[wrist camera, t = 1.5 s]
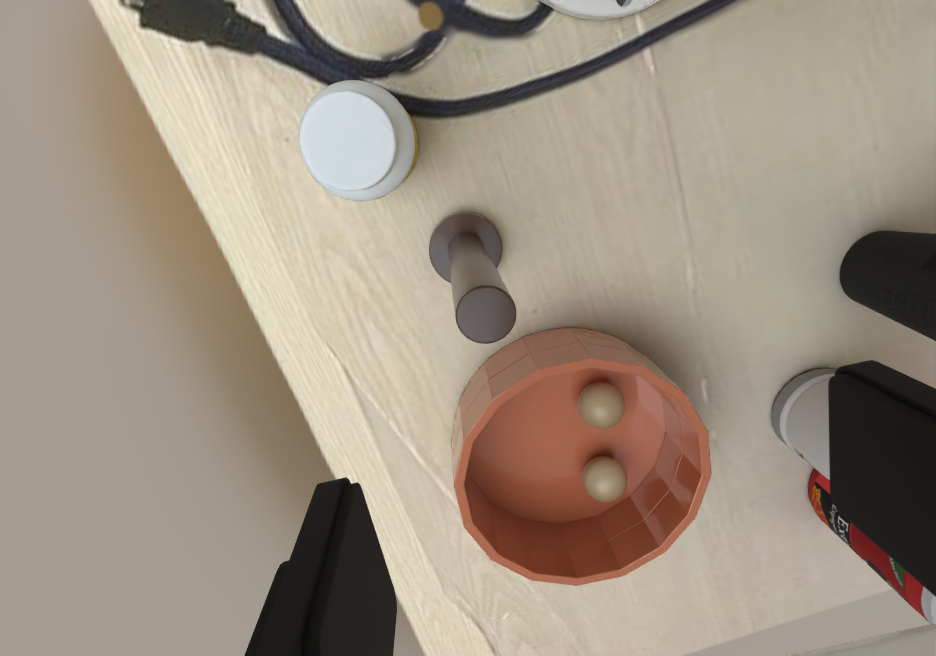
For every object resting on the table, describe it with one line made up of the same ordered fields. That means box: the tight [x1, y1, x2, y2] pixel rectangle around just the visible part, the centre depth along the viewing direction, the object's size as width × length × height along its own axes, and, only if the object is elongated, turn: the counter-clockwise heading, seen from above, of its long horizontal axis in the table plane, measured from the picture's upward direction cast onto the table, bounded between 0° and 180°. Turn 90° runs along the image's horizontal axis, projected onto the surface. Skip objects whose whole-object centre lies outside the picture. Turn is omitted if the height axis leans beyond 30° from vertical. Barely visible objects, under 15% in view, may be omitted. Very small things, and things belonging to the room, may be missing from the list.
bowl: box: [451, 328, 711, 586], centre depth 35 cm, size 15×15×6 cm
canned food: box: [808, 469, 936, 624], centre depth 35 cm, size 8×8×11 cm
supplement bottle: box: [299, 80, 419, 201], centre depth 27 cm, size 5×5×10 cm
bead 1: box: [578, 382, 625, 429], centre depth 35 cm, size 3×3×3 cm
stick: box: [429, 212, 516, 344], centre depth 27 cm, size 4×4×15 cm
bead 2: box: [582, 456, 627, 502], centre depth 37 cm, size 3×3×3 cm
